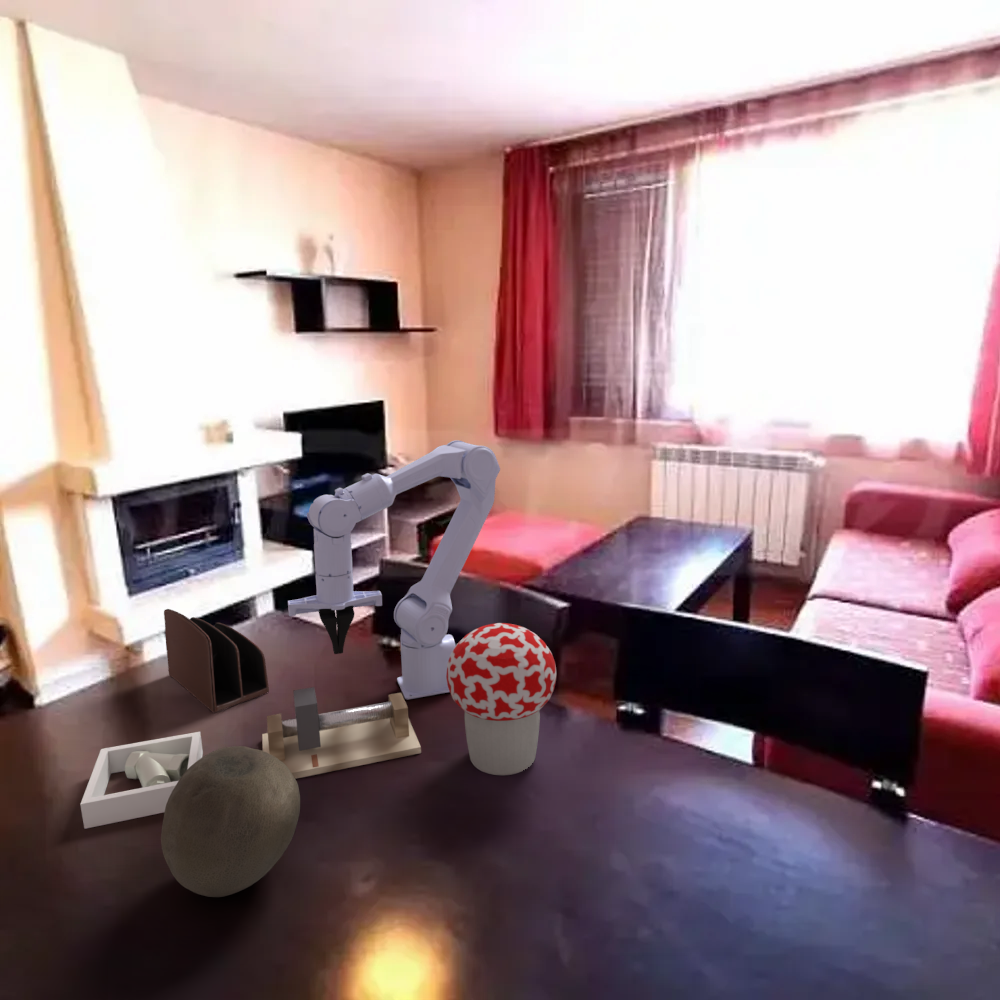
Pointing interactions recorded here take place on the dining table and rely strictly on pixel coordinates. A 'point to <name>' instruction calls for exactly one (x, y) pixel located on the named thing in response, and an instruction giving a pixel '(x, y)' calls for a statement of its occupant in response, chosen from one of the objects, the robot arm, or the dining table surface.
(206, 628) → the letter holder
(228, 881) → the kiwi fruit
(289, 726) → the pipe
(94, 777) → the parts frame
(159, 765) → the pipe fitting
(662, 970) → the dining table surface
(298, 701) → the collar
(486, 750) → the decorative object
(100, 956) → the dining table surface
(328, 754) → the pipe stand
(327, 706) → the dining table surface
